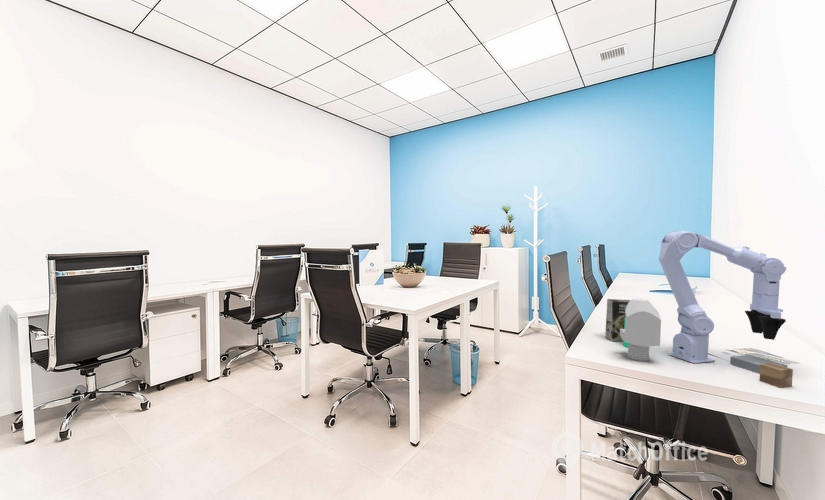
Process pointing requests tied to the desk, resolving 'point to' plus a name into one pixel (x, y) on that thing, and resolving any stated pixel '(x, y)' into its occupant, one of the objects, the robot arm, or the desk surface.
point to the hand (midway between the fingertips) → (762, 335)
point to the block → (776, 375)
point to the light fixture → (641, 328)
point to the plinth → (751, 362)
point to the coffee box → (615, 318)
